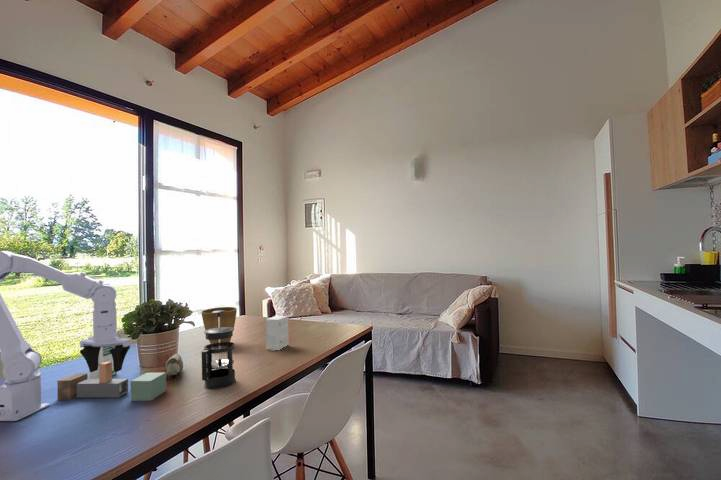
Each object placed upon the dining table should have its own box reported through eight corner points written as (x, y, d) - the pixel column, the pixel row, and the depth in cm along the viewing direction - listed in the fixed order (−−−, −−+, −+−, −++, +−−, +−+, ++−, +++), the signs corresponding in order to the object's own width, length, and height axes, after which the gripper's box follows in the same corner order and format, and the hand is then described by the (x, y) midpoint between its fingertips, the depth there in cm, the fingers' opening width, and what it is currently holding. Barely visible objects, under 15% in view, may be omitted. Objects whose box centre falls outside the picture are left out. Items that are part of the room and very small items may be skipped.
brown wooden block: (57, 399, 105) (57, 380, 105) (75, 391, 111) (75, 373, 111) (70, 399, 104) (70, 380, 105) (87, 391, 110) (87, 373, 111)
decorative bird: (185, 367, 132) (184, 346, 132) (181, 381, 117) (180, 358, 117) (168, 369, 130) (168, 348, 130) (162, 384, 115) (162, 360, 115)
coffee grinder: (221, 376, 121) (220, 307, 121) (243, 379, 117) (242, 308, 118) (192, 388, 110) (191, 313, 110) (216, 392, 106) (214, 314, 107)
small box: (276, 345, 159) (275, 315, 159) (289, 345, 156) (288, 315, 157) (265, 350, 151) (265, 318, 151) (278, 351, 149) (278, 319, 149)
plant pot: (204, 343, 166) (203, 308, 166) (238, 339, 170) (237, 306, 171) (199, 351, 152) (199, 313, 152) (237, 347, 156) (236, 310, 156)
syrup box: (102, 379, 120) (101, 336, 121) (87, 379, 122) (87, 336, 122) (117, 373, 126) (116, 332, 126) (103, 373, 127) (102, 332, 128)
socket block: (130, 400, 102) (130, 381, 103) (147, 390, 109) (147, 372, 110) (150, 400, 102) (150, 380, 102) (166, 390, 109) (165, 372, 109)
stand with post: (76, 397, 105) (76, 365, 106) (87, 392, 109) (87, 360, 110) (118, 397, 104) (117, 364, 105) (128, 392, 108) (127, 360, 109)
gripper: (137, 321, 111) (138, 366, 110) (93, 322, 112) (94, 366, 112) (120, 327, 104) (121, 374, 103) (73, 327, 105) (74, 374, 104)
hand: (105, 370), depth 107 cm, fingers open, 7 cm apart
